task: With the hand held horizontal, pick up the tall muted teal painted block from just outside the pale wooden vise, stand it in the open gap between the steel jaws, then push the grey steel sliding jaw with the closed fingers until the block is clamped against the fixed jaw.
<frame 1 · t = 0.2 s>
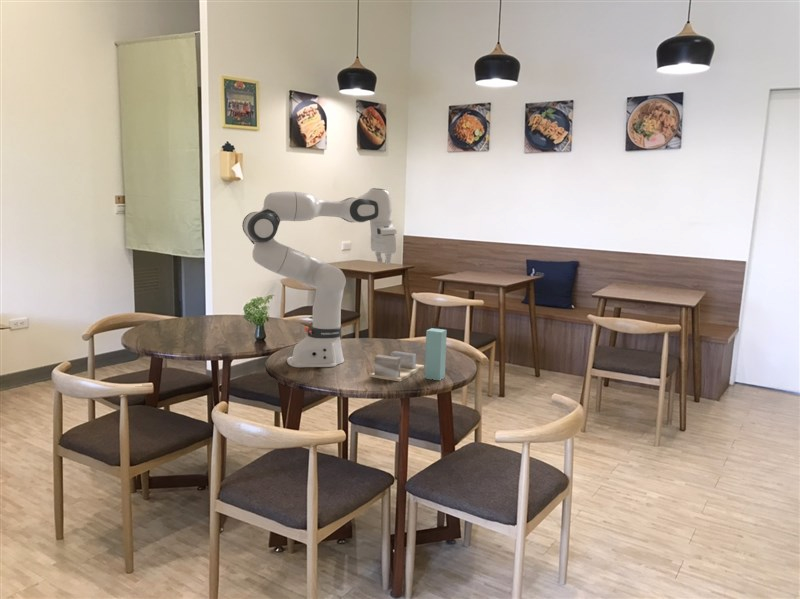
hand: (383, 263, 258), 39 cm above the table, tool pointing down, fingers open, 8 cm apart
teal block: (434, 377, 237), on the table
sliding jaw: (403, 359, 246), point 4 cm above the table, slide at 0.0 cm
vise base: (398, 372, 243), on the table
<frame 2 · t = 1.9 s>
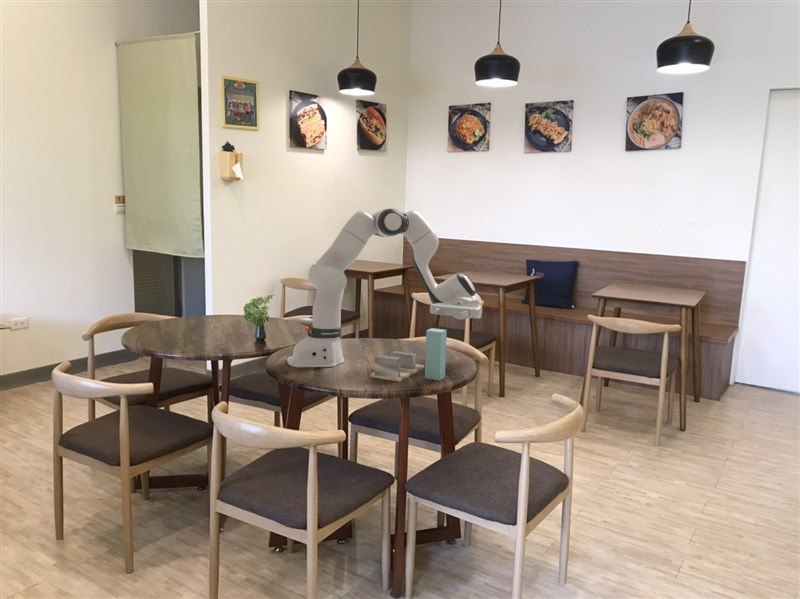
hand: (448, 313, 244), 22 cm above the table, tool horizontal, fingers open, 8 cm apart
nothing on the table moved.
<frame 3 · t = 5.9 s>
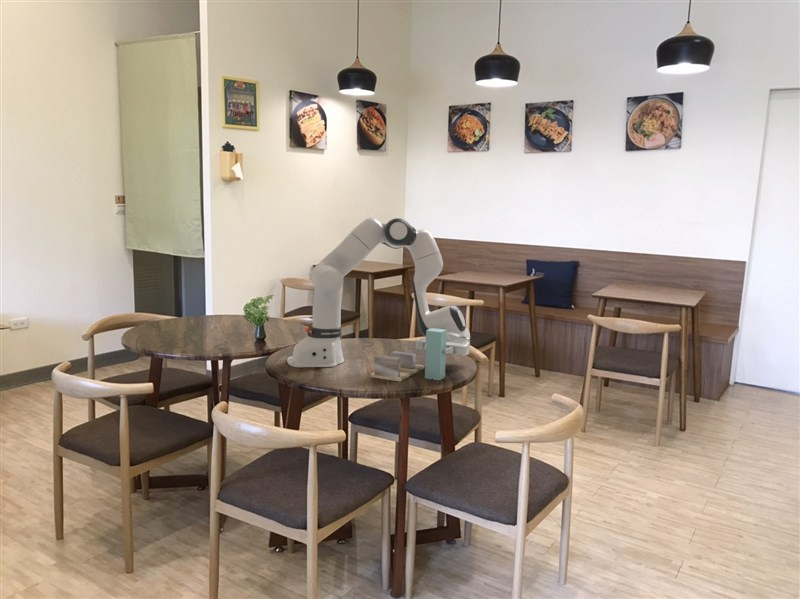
hand: (434, 350, 234), 11 cm above the table, tool horizontal, fingers closed on teal block, 6 cm apart
teal block: (434, 377, 237), on the table, touching gripper
everything else where it was.
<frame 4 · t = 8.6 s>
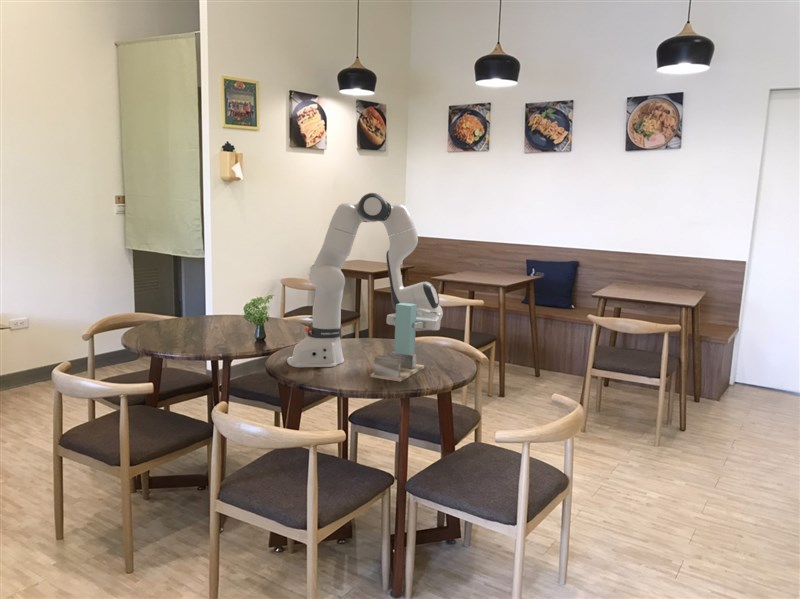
hand: (404, 324, 234), 20 cm above the table, tool horizontal, fingers closed on teal block, 6 cm apart
teal block: (404, 352, 237), point 9 cm above the table, touching gripper
everything else where it was.
when the fingers open (12 cm above the table, at t = 11.4 s): teal block stays where it is, resting on vise base.
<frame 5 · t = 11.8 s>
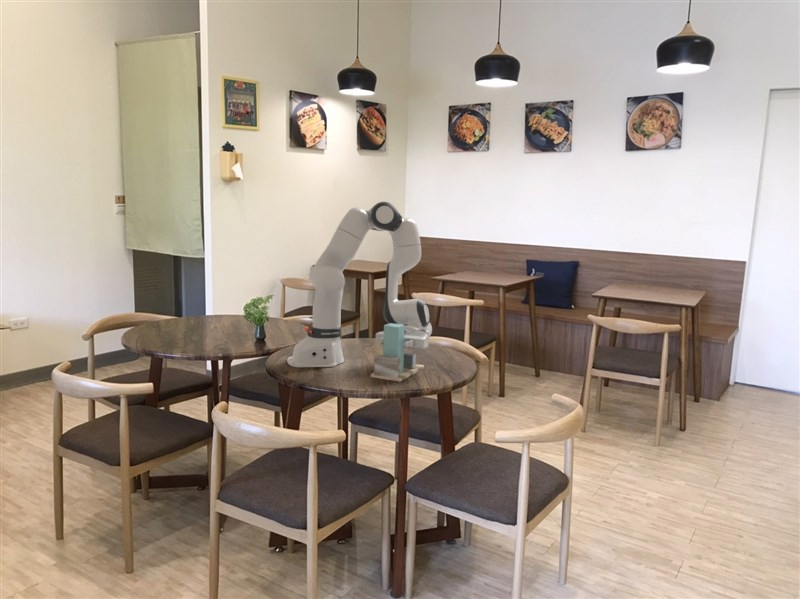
hand: (392, 343, 236), 12 cm above the table, tool horizontal, fingers open, 8 cm apart
teal block: (393, 372, 239), point 1 cm above the table, touching vise base
everything else where it was.
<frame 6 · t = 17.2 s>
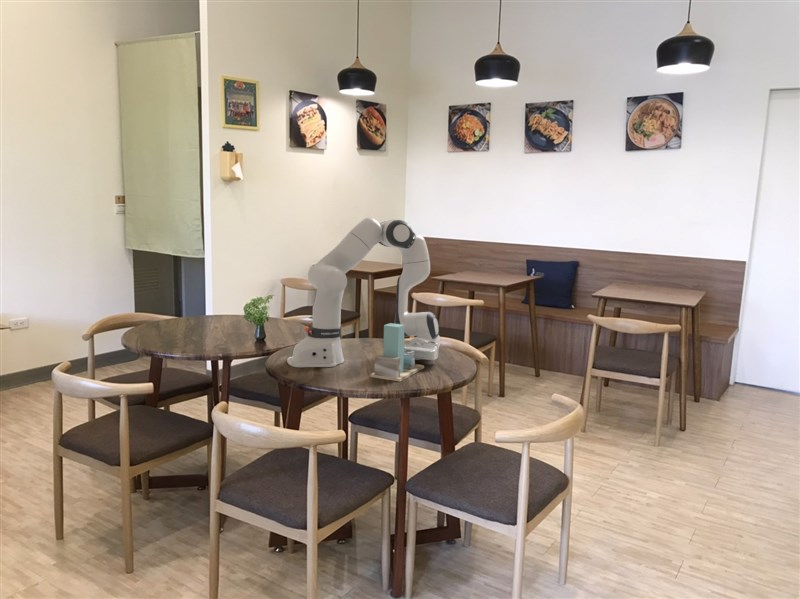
hand: (404, 355, 247), 5 cm above the table, tool horizontal, fingers closed, pressing on sliding jaw
sliding jaw: (402, 360, 245), point 4 cm above the table, slide at 0.9 cm, touching gripper
everything else where it was.
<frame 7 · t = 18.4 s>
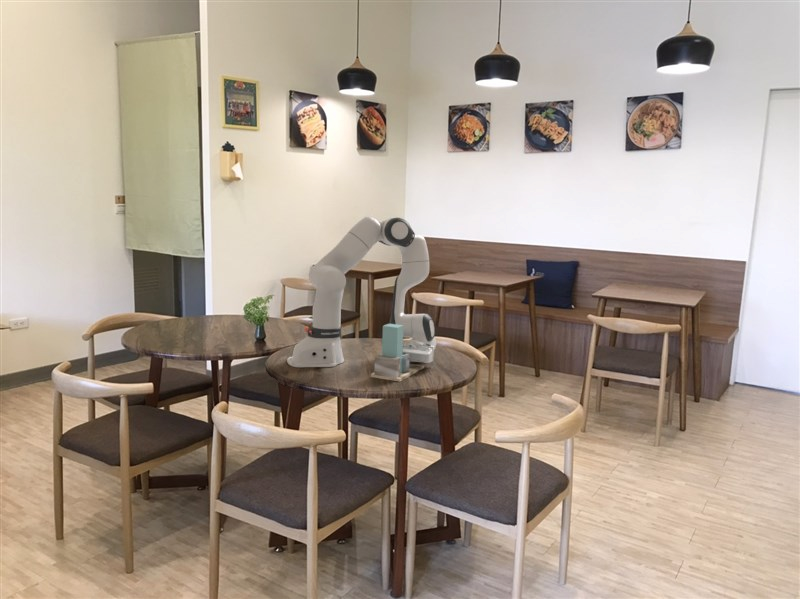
hand: (398, 358, 242), 5 cm above the table, tool horizontal, fingers closed, pressing on sliding jaw
teal block: (391, 373, 238), point 1 cm above the table
sliding jaw: (396, 363, 241), point 4 cm above the table, slide at 6.0 cm, touching gripper
everything else where it was.
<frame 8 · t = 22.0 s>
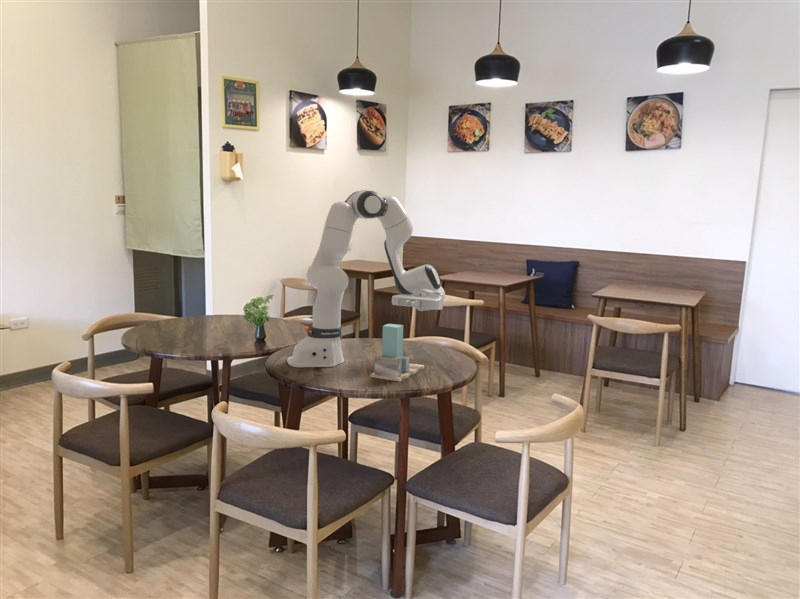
hand: (408, 304, 246), 25 cm above the table, tool horizontal, fingers closed
teal block: (391, 373, 238), point 1 cm above the table, touching sliding jaw, vise base
sliding jaw: (396, 363, 241), point 4 cm above the table, slide at 6.0 cm, touching teal block
everything else where it was.
at the end: teal block 0.1 cm from the target spot on the vise base, point 1.0 cm above the vise base's base; sliding jaw slide at 6.0 cm; teal block tilted 0° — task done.
